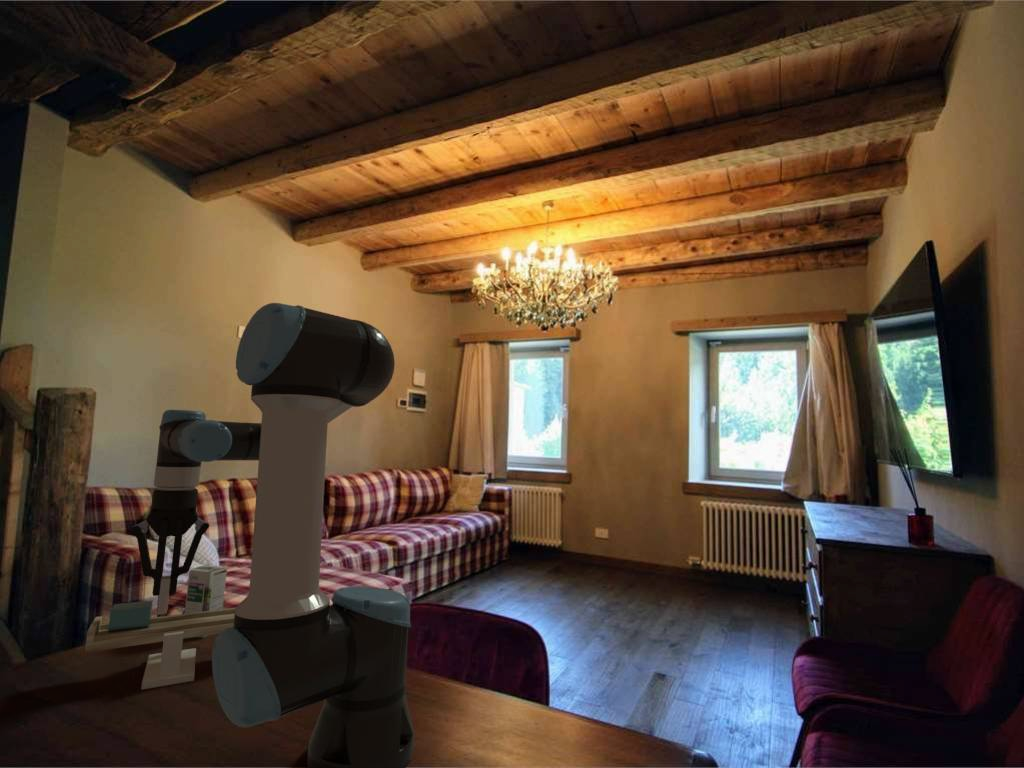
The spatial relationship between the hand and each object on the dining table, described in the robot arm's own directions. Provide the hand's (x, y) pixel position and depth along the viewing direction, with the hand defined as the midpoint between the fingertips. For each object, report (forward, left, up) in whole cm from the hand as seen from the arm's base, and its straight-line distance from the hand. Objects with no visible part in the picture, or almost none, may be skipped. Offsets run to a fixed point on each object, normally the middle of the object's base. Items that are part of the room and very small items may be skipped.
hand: (162, 611), depth 99 cm
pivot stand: (0, -2, -11) cm, 11 cm away
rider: (0, +5, -3) cm, 6 cm away
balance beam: (0, -2, -7) cm, 8 cm away
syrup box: (+19, -7, -11) cm, 24 cm away
